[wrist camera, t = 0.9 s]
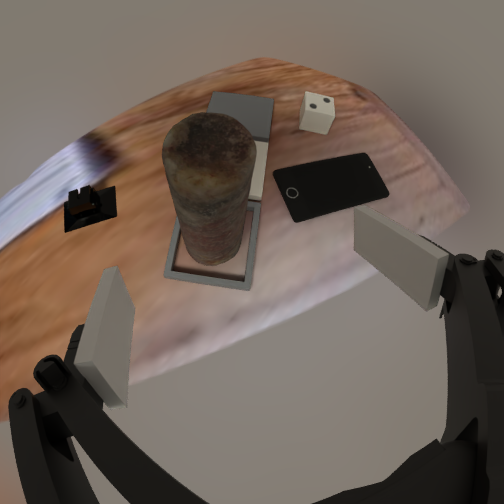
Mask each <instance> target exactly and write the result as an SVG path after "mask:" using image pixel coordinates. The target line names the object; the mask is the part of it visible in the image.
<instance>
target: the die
mask: <svg viewBox="0 0 504 504" xmlns="http://www.w3.org/2000/svg"><path fill="white" fill-rule="evenodd" d="M334 118H335V109H334V98H332V97H328V96H324V95H320V94H315V93H311V92H305V95H304V98H303V101H302V105H301V108H300V118H299V129H301V130H306V131H311V132H316V133H320V134H325V135H327V133H328V131H329V129H330V127H331V125H332V122H333V120H334Z"/></svg>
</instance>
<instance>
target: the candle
mask: <svg viewBox="0 0 504 504" xmlns="http://www.w3.org/2000/svg"><path fill="white" fill-rule="evenodd" d="M256 155H257V149H256V144H255V141H254V140H253V137H252V135H251V133H250V132H249V131H248V130H247V129H246V128H245V126H244V125H242V124H241V123H240V122H239V121H238V120H236V119H235V118H233V117H231V116H229V115H226V114H222V113H212V112H208V113H203V112H202V113H197V114H192V115H190V116H189V117H187V118H185V119H183V120H181V121H180V122H179V123H178V124H176V125H174V126H173V127H172V129H171V130H170V131H169V132H168V134H167V136H166V138H165V140H164V143H163V149H162V159H163V164H164V167H165V172H166V177H167V180H168V184H169V188H170V192H171V195H172V199H173V202H174V206H175V210H176V213H177V217H178V220H179V224H180V228H181V231H182V235H183V239H184V242H185V245H186V249H187V251H188V253H189V254H190V256H191V257H192V258H193V259H194V260H195V261H196V262H198V263H201V264H203V265H207V266H209V265H210V266H214V265H218V264H221V263H224V262H226V261H228V260H230V259H231V258H233V257H234V256H235V255H236V253H237V252H238V250H239V247H240V244H241V239H242V234H243V228H244V222H245V216H246V210H247V204H248V198H249V193H250V188H251V181H252V176H253V171H254V166H255V161H256Z"/></svg>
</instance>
